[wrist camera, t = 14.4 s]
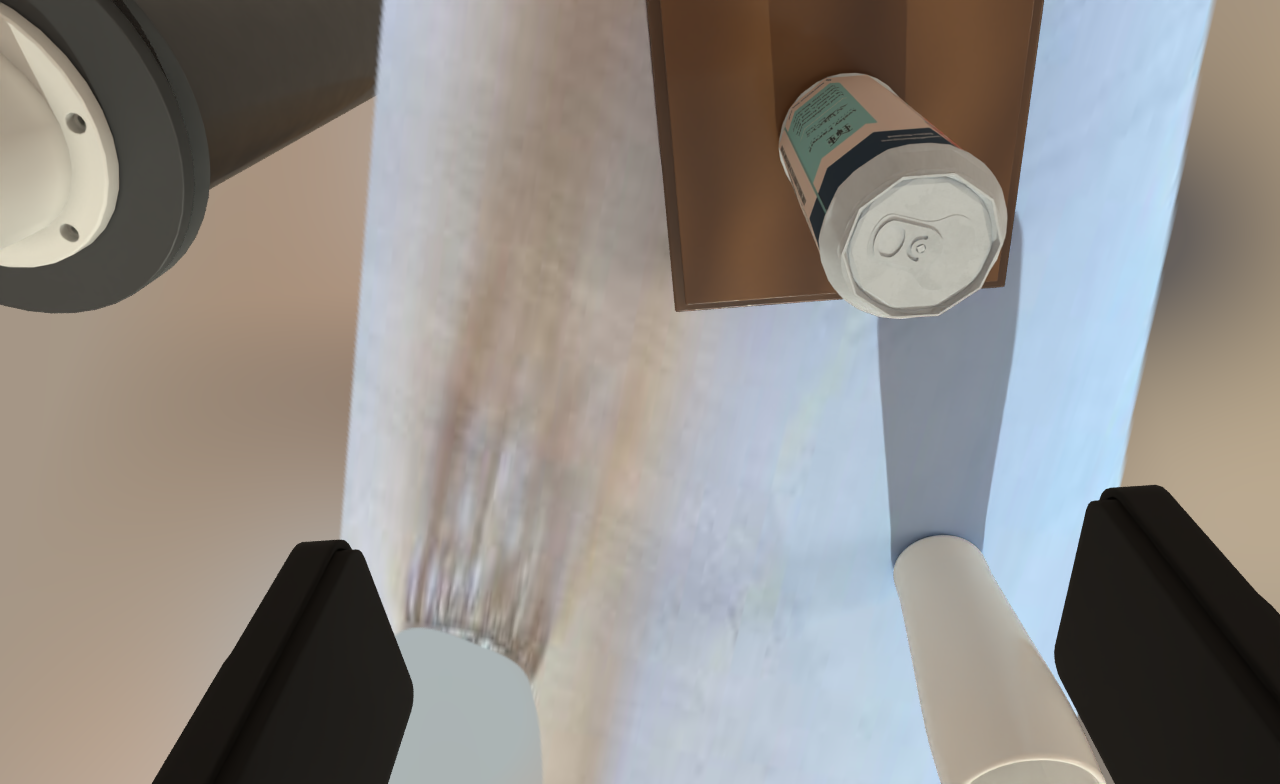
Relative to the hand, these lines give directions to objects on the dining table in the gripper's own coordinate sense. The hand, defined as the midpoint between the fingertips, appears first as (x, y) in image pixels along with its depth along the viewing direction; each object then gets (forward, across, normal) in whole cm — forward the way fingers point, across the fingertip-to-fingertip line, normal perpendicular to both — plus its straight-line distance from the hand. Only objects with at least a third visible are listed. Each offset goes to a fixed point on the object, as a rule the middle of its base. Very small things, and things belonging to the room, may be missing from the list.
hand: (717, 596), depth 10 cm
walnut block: (+28, -6, 0) cm, 29 cm away
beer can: (+24, -6, 0) cm, 24 cm away
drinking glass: (+28, -13, +27) cm, 41 cm away
